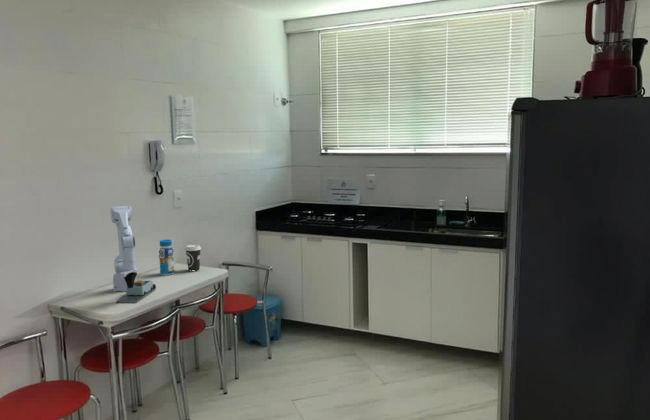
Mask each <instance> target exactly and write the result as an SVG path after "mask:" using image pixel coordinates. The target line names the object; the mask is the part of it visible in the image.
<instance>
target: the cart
mask: <svg viewBox="0 0 650 420" xmlns="http://www.w3.org/2000/svg"><path fill="white" fill-rule="evenodd" d="M136 281H145V285H143V286H142V287H134V286H133V288H128V287H126V288H127V291H126V295H143V294H146V292H148V291H149V290H151V289H153V284H154V282H153V279H152V280H149V279H146V280H144V279H143V280H138V279H136ZM136 281H134V282H136Z"/></svg>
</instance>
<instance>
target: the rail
mask: <svg viewBox="0 0 650 420" xmlns="http://www.w3.org/2000/svg"><path fill="white" fill-rule="evenodd" d="M156 290H157V286H156V284H155V283H153V289H151V290H149V291H148V292H146V294H143V295H127V294H125V295H124V296H122V297H120V298H119V299H117V300H116V303H117V304H122V303H124V304H137V303H139V302H140V301H141V300H143V299H145V298H146V297H148V296H149V295H150V294H152V293H153V292H155V291H156Z"/></svg>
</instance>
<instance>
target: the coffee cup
mask: <svg viewBox="0 0 650 420" xmlns="http://www.w3.org/2000/svg"><path fill="white" fill-rule="evenodd" d="M201 250H202V247H201V246H200V244H189V245H188V244H187V245H186V246H185V248H184V251H185V255H186V263H187V269H188V271H189V270H191V271H192V270H199V269H200V267H201ZM200 270H201V269H200ZM200 270H199V271H200ZM191 271H190V272H191Z"/></svg>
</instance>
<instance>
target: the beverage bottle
mask: <svg viewBox="0 0 650 420" xmlns="http://www.w3.org/2000/svg"><path fill="white" fill-rule="evenodd" d="M172 245H173V242H172V240H171V239H161V240H159V247H160V248H159V251H158V254H159V255H158V259H159V273H160V275H161V276H171V274H172V275H174V274H175V262H174V261H175V259H174V258H175V254H174V249H173V248H172Z"/></svg>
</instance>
